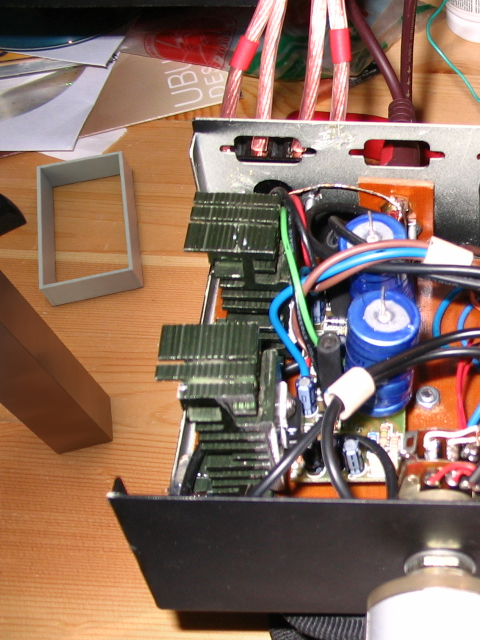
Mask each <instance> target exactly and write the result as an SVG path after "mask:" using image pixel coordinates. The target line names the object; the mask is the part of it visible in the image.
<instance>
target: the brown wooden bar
mask: <svg viewBox="0 0 480 640" xmlns="http://www.w3.org/2000/svg"><path fill="white" fill-rule="evenodd" d="M0 404H1V406H3V407H4V408H5V409H6V410H7V411H8V412H9V413H11V415H13V416H14V417H15V418H16V419H17V420H19V421H20V423H22V424H23V425H24V426H25V427H26V428H28V430H30V431H31V432H32V433H33V434H35V435H36V436H37V437H38V438H39V439H40V440H41V441H42V442H43V443H44V444H46V445H47V447H49V448H50V449H51V450H52V451H54V453H56V454H57V455H61V454H64V453H68V452H72V451H77V450H80V449H85V448H89V447H93V446H96V445H101V444H106V443H111V442H113V440H114V439H113V426H112V425H113V424H112V411H111V397H110V396H109V394H108V393H107V392H106V391H105V389H103V387H102V386H101V385H100V384H99V383H98V381H97V380H96V379H95V378H94V377H93V376H92V374H91V373H90V372H89V371H88V370H87V368H86V367H85V366H83V364H82V363H81V361H79V360H78V359H77V357H76V356H75V355H74V354H73V352H72V351H71V350H70V349H69V347H68V346H66V344H65V343H64V342H63V341H62V340H61V338H60V337H59V336H58V335H57V333H55V332H54V330H53V329H52V328H51V327H50V325H49V324H48V323H47V322H46V321H45V320H44V319H43V318H42V316H41V315H40V314H39V313H38V312H37V310H36V309H35V308H34V307H33V306H32V304H30V302H29V301H28V300H27V299H26V298H25V297H24V295H23V294H22V293H21V291H19V289H18V288H17V287H16V286H15V285H14V284H13V283H12V282H11V280H10V279H9V278H8V276H7V275H5V273H4V272H3V271H2V270H1V269H0Z"/></svg>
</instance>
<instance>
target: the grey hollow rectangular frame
mask: <svg viewBox="0 0 480 640" xmlns="http://www.w3.org/2000/svg"><path fill="white" fill-rule="evenodd" d="M113 176H120V184H121V185H120V186H121V187H120V188H121V196H122V197H121V198H122V208H123V219H124V229H125V231H124V232H125V241H126V253H127V263H128V264H127V265H128V267H124V268H121V269H115V270H110V271H106V272H101V273H96V274H91V275H87V276H81V277H77V278H73V279H66V280H63V281H58V282H57V276H56V275H57V270H56V243H55V242H56V241H55V213H54V212H55V211H54V187H59V186H65V185H70V184H75V183H80V182H81V183H82V182H86V181H91V180H97V179H102V178H107V177H113ZM134 188H135V187H134V178H133V169H132V167H131V165H130V164H129V162H128V159H127V158H126V156H125V154H124V152H123V151H122V150H118V151H113V152H108V153H107V152H106V153H102V154H101V153H100V154H96V155H90V156H85V157H79V158H74V159H69V160H62V161H56V162H51V163H46V164H41V165H36V203H37V204H36V206H37V207H36V209H37V253H38V254H37V255H38V256H37V257H38V259H37V260H38V261H37V262H38V290H39V291H40V292H41V293H42V294H43V296H44V297H45V299H46V300H47V301H48V302H49V304H51V306H52V307H56V306H60V305H65V304H70V303H75V302H78V301H83V300H89V299H93V298H98V297H103V296H108V295H112V294H117V293H121V292H126V291H131V290H137V289H140V288H144V277H143V268H142V257H141V247H140V237H139V227H138V219H137V208H136V206H137V205H136V197H135V189H134Z"/></svg>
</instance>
